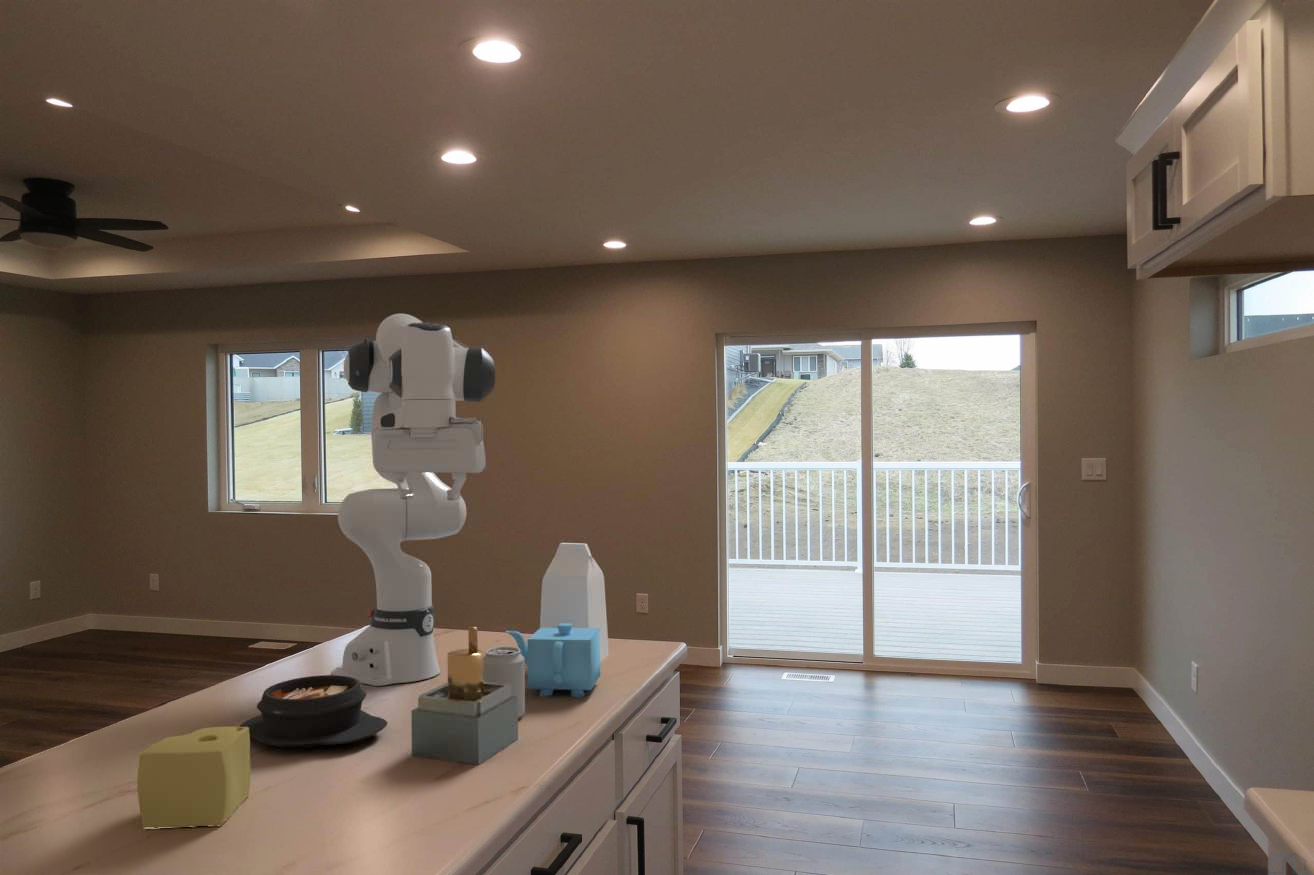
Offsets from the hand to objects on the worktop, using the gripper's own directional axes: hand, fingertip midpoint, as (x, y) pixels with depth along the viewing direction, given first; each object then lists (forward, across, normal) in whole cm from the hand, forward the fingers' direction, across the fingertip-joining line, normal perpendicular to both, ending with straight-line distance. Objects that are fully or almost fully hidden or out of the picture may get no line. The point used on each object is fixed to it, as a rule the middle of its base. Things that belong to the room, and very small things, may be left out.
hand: (429, 499), depth 148 cm
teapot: (+39, -8, -28) cm, 49 cm away
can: (+39, -8, -10) cm, 41 cm away
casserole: (+39, +17, +9) cm, 44 cm away
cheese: (+39, +10, +38) cm, 56 cm away
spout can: (+32, -10, +5) cm, 33 cm away
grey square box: (+39, -10, +5) cm, 41 cm away
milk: (+39, -3, -49) cm, 63 cm away
